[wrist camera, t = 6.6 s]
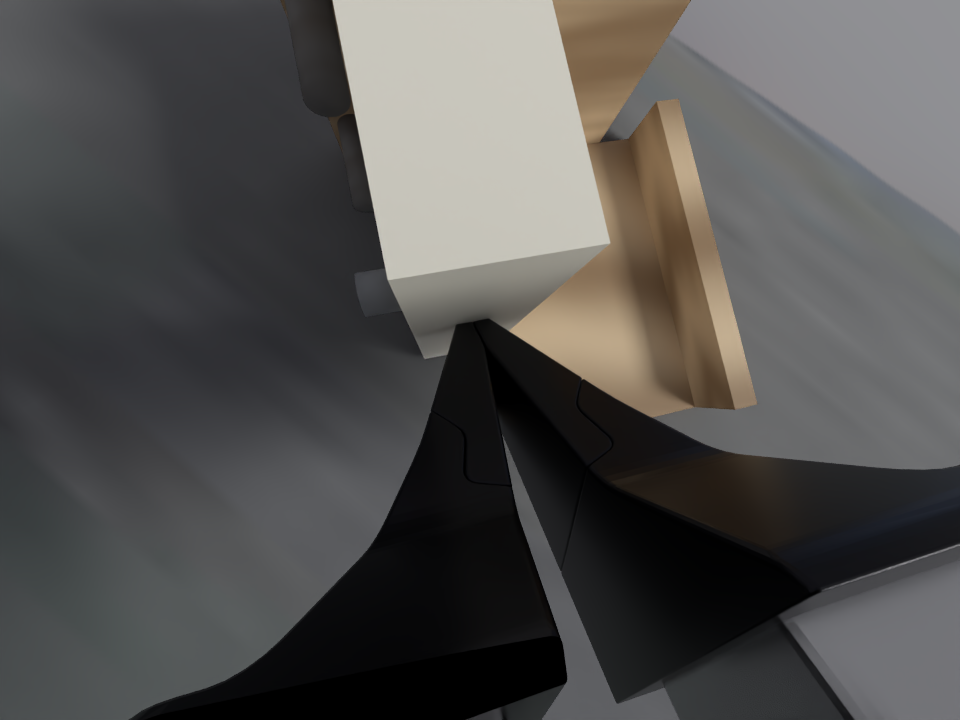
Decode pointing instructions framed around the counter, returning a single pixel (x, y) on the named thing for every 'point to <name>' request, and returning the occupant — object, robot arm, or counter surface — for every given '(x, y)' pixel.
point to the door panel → (468, 160)
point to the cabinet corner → (627, 212)
